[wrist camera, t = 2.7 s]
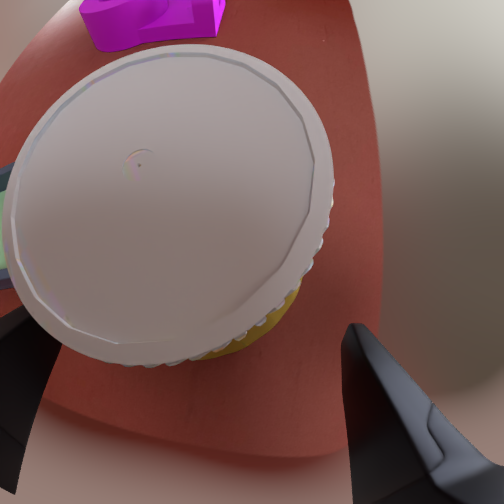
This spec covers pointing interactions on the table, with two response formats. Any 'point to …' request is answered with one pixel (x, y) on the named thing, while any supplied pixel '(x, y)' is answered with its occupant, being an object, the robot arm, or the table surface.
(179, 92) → the bottle
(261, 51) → the table surface
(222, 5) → the tape dispenser
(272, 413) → the table surface
